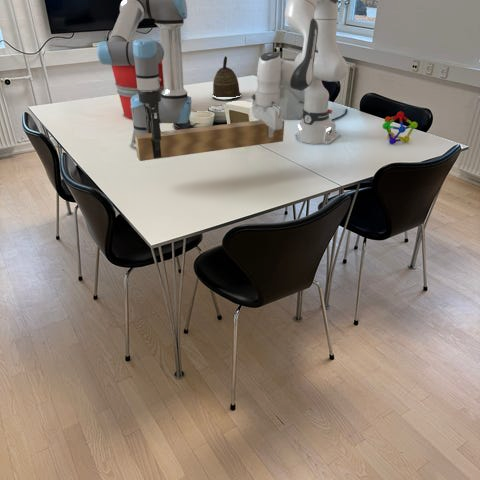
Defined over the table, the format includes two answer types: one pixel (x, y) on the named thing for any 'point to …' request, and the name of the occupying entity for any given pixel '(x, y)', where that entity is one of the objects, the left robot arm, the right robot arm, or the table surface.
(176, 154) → the beam
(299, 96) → the bucket
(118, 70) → the bucket
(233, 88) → the bell
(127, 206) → the table surface
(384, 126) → the educational toy
